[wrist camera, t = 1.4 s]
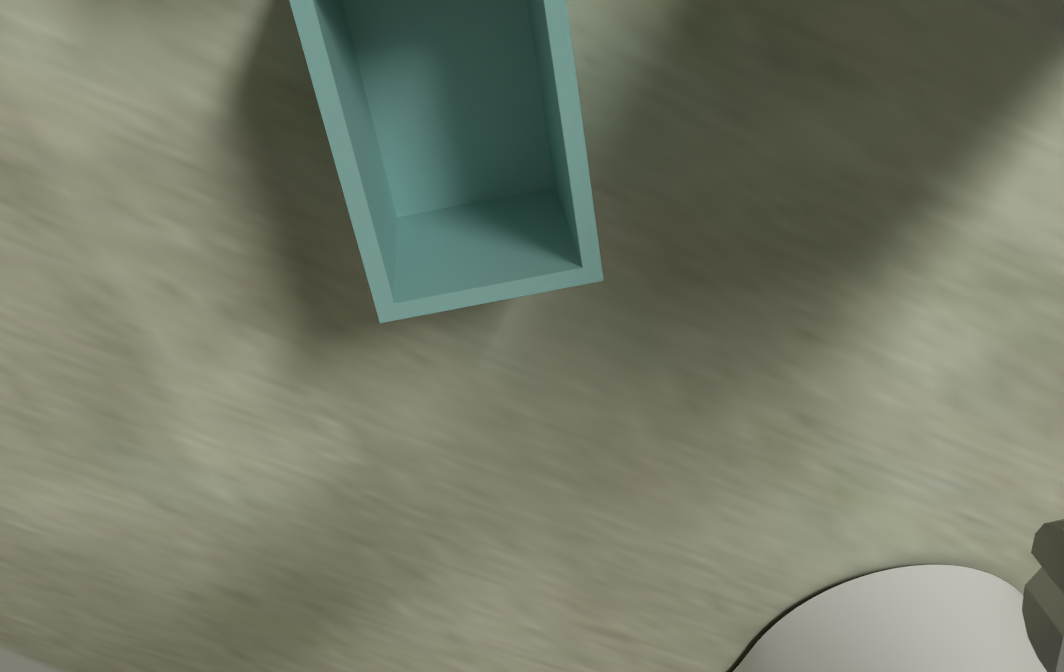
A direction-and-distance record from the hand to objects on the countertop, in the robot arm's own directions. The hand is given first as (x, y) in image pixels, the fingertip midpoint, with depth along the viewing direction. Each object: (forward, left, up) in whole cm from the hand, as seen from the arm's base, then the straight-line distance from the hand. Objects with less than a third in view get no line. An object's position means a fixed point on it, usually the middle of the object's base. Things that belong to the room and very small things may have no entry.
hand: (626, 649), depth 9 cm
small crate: (0, +1, -22) cm, 22 cm away
